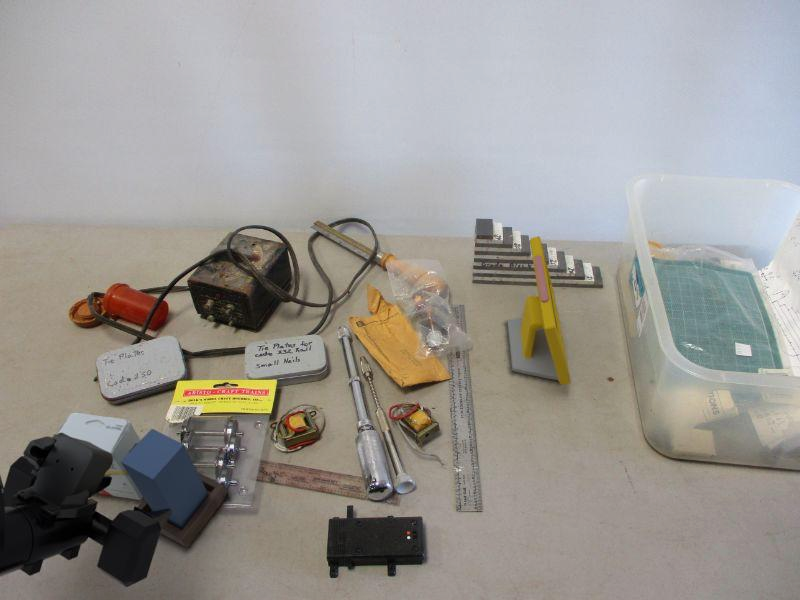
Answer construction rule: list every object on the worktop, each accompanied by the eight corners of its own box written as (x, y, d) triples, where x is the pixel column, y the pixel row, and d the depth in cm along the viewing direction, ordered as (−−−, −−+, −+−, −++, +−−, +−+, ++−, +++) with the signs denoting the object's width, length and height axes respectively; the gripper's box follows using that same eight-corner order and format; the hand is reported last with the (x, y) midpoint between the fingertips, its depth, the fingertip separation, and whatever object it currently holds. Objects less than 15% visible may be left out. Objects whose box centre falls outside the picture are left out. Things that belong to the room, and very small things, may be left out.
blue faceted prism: (184, 532, 74) (152, 479, 65) (155, 515, 76) (120, 461, 67) (211, 499, 77) (183, 444, 68) (182, 483, 79) (151, 428, 70)
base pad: (188, 550, 73) (181, 540, 71) (139, 523, 76) (131, 512, 74) (228, 496, 79) (223, 484, 77) (181, 472, 81) (175, 461, 79)
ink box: (83, 492, 80) (45, 443, 71) (102, 460, 83) (68, 411, 75) (142, 501, 78) (110, 453, 70) (159, 469, 82) (130, 419, 74)
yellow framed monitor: (566, 398, 89) (587, 325, 78) (514, 395, 90) (527, 324, 79) (550, 306, 104) (566, 234, 93) (505, 304, 104) (515, 233, 93)
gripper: (110, 496, 50) (223, 462, 64) (-32, 416, 56) (100, 401, 71) (73, 619, 50) (194, 557, 65) (-64, 526, 56) (74, 488, 71)
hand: (139, 496), depth 68 cm, fingers open, 9 cm apart
